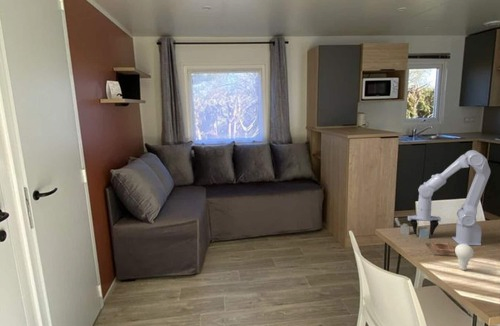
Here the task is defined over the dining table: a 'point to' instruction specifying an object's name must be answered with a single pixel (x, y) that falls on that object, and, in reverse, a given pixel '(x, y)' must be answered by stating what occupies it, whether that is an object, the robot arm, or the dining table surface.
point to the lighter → (403, 227)
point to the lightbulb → (463, 255)
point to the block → (423, 232)
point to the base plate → (442, 249)
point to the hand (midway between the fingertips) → (423, 234)
